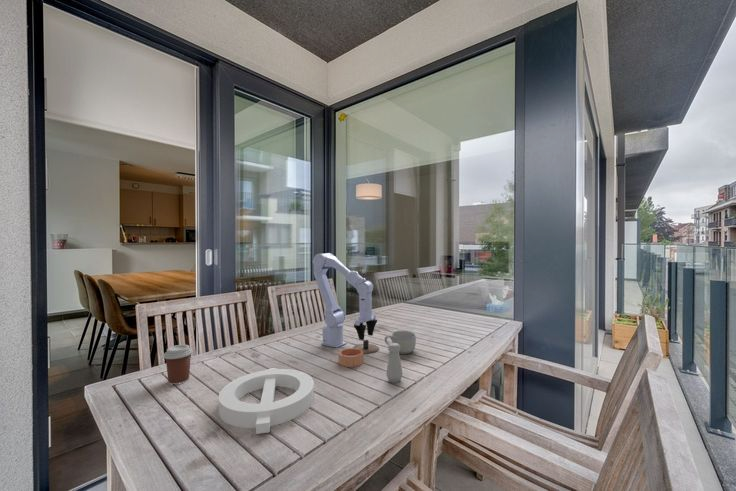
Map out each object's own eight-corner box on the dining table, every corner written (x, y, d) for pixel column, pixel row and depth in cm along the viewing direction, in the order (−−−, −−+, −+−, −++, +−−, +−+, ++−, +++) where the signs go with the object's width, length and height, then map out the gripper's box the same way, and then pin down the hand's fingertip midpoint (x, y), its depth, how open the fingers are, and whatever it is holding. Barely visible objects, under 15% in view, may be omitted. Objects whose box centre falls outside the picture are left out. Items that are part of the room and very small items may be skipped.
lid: (347, 351, 143) (347, 342, 143) (362, 343, 153) (362, 335, 153) (370, 356, 136) (370, 346, 136) (383, 348, 146) (383, 339, 146)
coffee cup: (189, 373, 120) (188, 341, 120) (196, 380, 113) (196, 347, 113) (161, 381, 113) (160, 347, 113) (167, 389, 107) (166, 354, 107)
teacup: (415, 347, 146) (415, 330, 145) (416, 356, 135) (416, 337, 135) (385, 347, 147) (385, 330, 147) (384, 355, 136) (384, 337, 136)
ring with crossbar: (262, 442, 79) (261, 423, 79) (198, 410, 94) (198, 395, 94) (332, 394, 103) (331, 380, 103) (272, 375, 118) (272, 363, 118)
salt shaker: (404, 378, 114) (404, 342, 114) (400, 385, 108) (400, 347, 108) (388, 376, 116) (388, 340, 116) (384, 382, 110) (384, 345, 110)
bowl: (333, 363, 128) (333, 353, 128) (348, 355, 136) (348, 346, 136) (354, 368, 123) (354, 358, 122) (368, 360, 131) (367, 350, 131)
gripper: (364, 311, 136) (364, 343, 136) (381, 305, 148) (381, 334, 148) (350, 310, 140) (351, 340, 140) (368, 304, 152) (368, 332, 152)
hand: (366, 337), depth 144 cm, fingers open, 7 cm apart
